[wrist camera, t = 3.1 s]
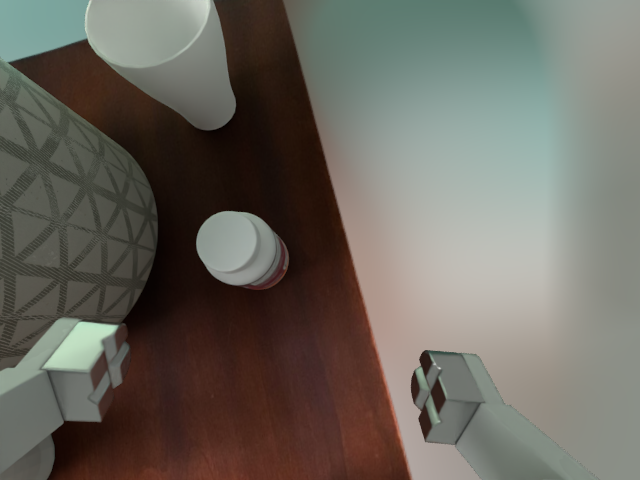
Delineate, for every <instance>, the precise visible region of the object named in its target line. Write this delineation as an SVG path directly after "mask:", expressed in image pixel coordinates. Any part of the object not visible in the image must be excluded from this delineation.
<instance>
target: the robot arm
mask: <svg viewBox="0 0 640 480" xmlns="http://www.w3.org/2000/svg"><path fill="white" fill-rule="evenodd" d="M127 336H128V329H127V325H126V324H123V323H115V322H106V321H98V320H89V319H77V318H68V317H62V318H60V319H58V320H57V321H56V322H55V323H54V324H53V325H52V326H51V327H50V328H49V330H48V331H47V332H46V333H45V334H44V335H43V336H42V337H41V339H40V340H39V341H38V342H37V343H36V344H35V345H34V347H33V348H32V349H31V350H30V351H29V352H28V353H27V354H26V356H25V357H24V358H23V359H22V360H21V361H20V362H19V363H18V365H17V366H16V367H15V368H6V369H4V370H2V371H0V474H1V473H2V472H4V471H5V470H6V469H7V468H9V467H10V466H11V465H12V464H14V463H15V462H16V461H17V460H19V459H20V458H21V457H22V456H24V455H25V454H26V453H27V452H28V451H30V450H31V449H32V448H33V447H35V446H36V445H37V444H38V443H40V442H41V441H42V440H43V439H45V438H46V437H47V436H48V435H50V434H51V433H52V432H53V431H55V430H56V429H57V428H58V427H60V426H61V425H62V424H63V423H64V421H84V422H102V420H103V418H104V416H105V414H106V412H107V410H108V409H109V407H110V405H111V403H112V401H113V399H114V394H113V389H114V388H115V387H117V386H118V385H119V384H121V383H122V382H123V380H124V378H125V376H126V374H127V372H128V369H129V366H130V362H131V347H130V345H129V344H128V343H127V342H125V339H126V337H127ZM419 360H420V363H421V366H420V367H418V368H417V369H416V370H415V371H414V373H413V376H412V380H411V393H412V398H413V402H414V404H415V405H416V406H417V407H418V408H419V409H420V410H421V411H422V412H421V414H420V416H419V422H420V426H421V429H422V433H423V436H424V439H425V442H430V443H441V444H452V445H456V446H455V447H456V448H457V450H458V451H459V452H460V453H461V454H462V456H463V457H464V458H465V459H466V460H467V462H468V463H469V464H470V466H471V467H472V468H473V469H474V471H475V472H476V473H477V474H478V476H479V477H480V478H481V479H482V480H599V479H598V478H597V477H596V476H595V475H593V474H592V473H591V472H590V471H588V470H587V469H586V468H585V467H584V466H583V465H581V464H580V463H579V462H578V461H576V459H574V458H573V457H572V456H571V455H570V454H568V453H567V452H566V451H564V449H562V448H561V447H560V446H559V445H558V444H556V443H555V442H554V441H553V440H552V439H550V438H549V437H548V436H547V435H546V434H544V433H543V432H542V431H541V430H540V429H538V428H537V427H536V426H535V425H534V424H532V423H531V422H530V421H529V420H528V419H526V418H525V417H524V416H523V415H522V414H520V413H519V412H518V411H517V410H516V409H514V408H513V407H512V406H511V405H505V403H504V402H503V399H502V398H501V396H500V394H499V392H498V390H497V388H496V387H495V385H494V383H493V381H492V379H491V377H490V375H489V374H488V372H487V370H486V368H485V366H484V364H483V363H482V361H481V359H480V357H479V356H477V355H476V354H467V353H454V352H442V351H430V350H429V351H428V350H425V351H424V352H423V353H422V354H421V356H420V359H419Z"/></svg>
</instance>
